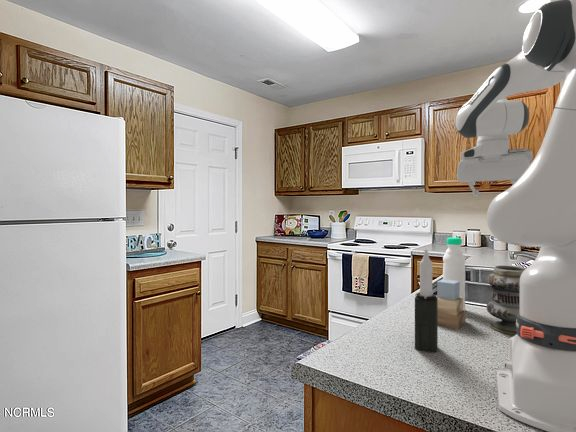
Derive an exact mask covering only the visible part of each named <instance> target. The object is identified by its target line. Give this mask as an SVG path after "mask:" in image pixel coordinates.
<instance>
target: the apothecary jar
mask: <svg viewBox="0 0 576 432" xmlns="http://www.w3.org/2000/svg"><path fill="white" fill-rule="evenodd" d="M526 268H527V267H523V266H519V265H508V264H507V265H503V264H501V265H500V264H499V265H495V266H494V267H493V271H492V273H490V274H489V275H488V276H487V283H488V284H489V285H490V286H491V298H490V299H491V300H489V301H488V302H487V303H486V306H485V307H486V311H487V312H488V313H489V314H490V315H491V316H493V317H494V318H496V319H498V320H499V321H495V322H492V323H490V325H489V326H490V328H491V329H493V330H495V331H498V332H500V333H502V334H507V335H513V336H515V335H516V334H517V333H516V320H517V313H519V311H520V276H521V274H522V273H523V271H524V270H525V269H526Z"/></svg>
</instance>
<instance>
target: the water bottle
mask: <svg viewBox="0 0 576 432" xmlns="http://www.w3.org/2000/svg"><path fill="white" fill-rule="evenodd" d="M462 243H463V239H462V238H461V237H452V236H451V237H447V238H446V245H447V249H446V250H445V253H444V255H443V257H442V262H443V263H442V264H443V266H442V279H447V280H454V281H460V297H463V310H466V290H465V289H466V288H465V287H466V257H465V255H464V253H463V251H462V249H461V246H462V245H463V244H462Z"/></svg>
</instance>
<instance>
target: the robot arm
mask: <svg viewBox="0 0 576 432" xmlns="http://www.w3.org/2000/svg"><path fill="white" fill-rule="evenodd" d="M562 81H564V82H563V84H562V87H561V89H560V92H559V95H558V97H557V100H556V102H555V106H554V109H553V111H552V115H551V116H550V120H549V123H548V127H547V129H546V131H545V134H544V137H543V140H542V142H541V145H540V147H539V150H538V151H537V153H536V155H535V157H534V153H533V151H532V149H528V148H526V147H524V148H523V147H522V148H513V149H510V138H509V136H512V135H516V134H519V133H521V132H523V130H524V129H525V128H526V127H527V126H528V125H529V121H530V109H529V107H528V106H527V104H526V103H525V102H523V101H522V100H511V99H509V100H508V98H507V97H510V96H513V95H518V94H523V93H527V92H528V93H529V92H533V91H541V90H545V89H548V88H551V87H554V86H556V85H557V84H559V83H561V82H562ZM454 125H455V130H456V131H457V133H458V134H459V135H460V136H462V137H463V138H465V139H469V138H470V139H471V138H477V139H476V146H473V147H472V148H468V149H467V150H464V151H462V152H460V158H461V160H460V161H459V162H458V164H457V170H456V180H457V182H459V183H468V187H469V188H470V190H471V191H472V196H473V197H479V196H480V195H479V192H480V191H479V190H478V189H476V188H475V186H476V182H477V183H478V182H497V181H510V183H511V184H512V185H511V186H510V187H509V188H506V190H504V191H503V192H501V193H499V194H497V195H496V196H495V197H494V198H493V199H492V201H491V202H490V204H489V205H488V208H487V213H486V222H487V226H488V229H489V230H490V232H491V234H492V236H493V237H494V238H495V239H496V240H498V241H500V242H502V243H505V244H509V245H514V246H520V247H523V248H524V247H525V248H526V247H527V248H536V247H537V248H539V247H540V248H539V251H538V254H537V256H536V258H535V259H534V261H533V262H532V263H531V264H530V265H528V266H527V267H525V268H526V269H525V270H524V271H523V273H522V274H521V276H520V311H519V313H517V320H516V333H517V334H516V335H513V336H511V337H510V338H509V339H508V342H509V343H508V361H506V362H505V363H504V368H505V369H506V370H498V371H496V389H497V390H496V391H497V404H498V410H499V411H500V412H502V413H504V414H505V415H507V416H509V417H511V418H512V419H514V420H517V421H519V422H522V423H523V424H526V425H529V426H530V427H531V426H532V427H533V428H537V429H540V430H543V431H546V432H576V0H554V1H550V2H547V3H544V4H543V5H541V7H539V9H537V10H536V11H535V12H534V14H533V15H532V17H531V18H530V20H529V22H528V23H527V25H526V27H525V29H524V33H523V37H522V46H521V51H520V52H519V53H518V54H517V55H515V56H514V57H513V58H511V59H510V60H509V61H507V62H506V63H503V64H502V65H500V66H499V67H497V68H496V69H495V70H494V71H492V73H491V74H490V75H489V76H488V78H487V79H486V80H485V81H484V82H483V83H482V85H480V87H479V88H478V89H477V91H476V92H475V93H474V94H473V96H472V97H471V98H470V99H469V100H468V101H466V102H465V103H464V104H463V105H462V106H461V107H460V108H459V109H458V111H457V113H456V116H455V122H454Z"/></svg>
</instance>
